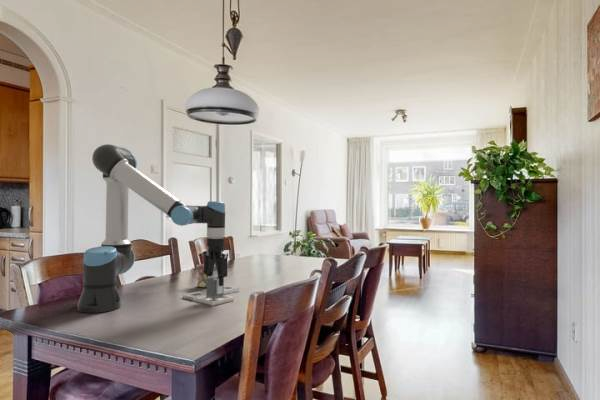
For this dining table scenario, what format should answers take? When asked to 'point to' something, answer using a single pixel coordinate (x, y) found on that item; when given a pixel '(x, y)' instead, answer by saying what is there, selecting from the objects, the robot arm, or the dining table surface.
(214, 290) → the dark grey block
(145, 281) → the dining table surface
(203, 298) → the tray
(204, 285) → the mug
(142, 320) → the dining table surface
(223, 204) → the robot arm
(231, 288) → the rail
